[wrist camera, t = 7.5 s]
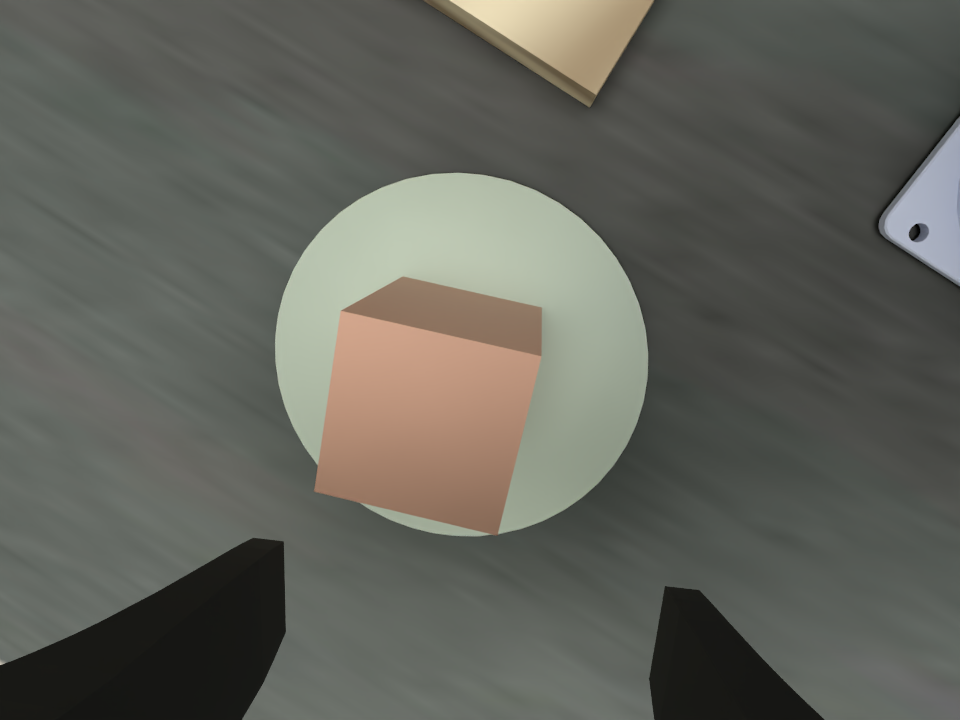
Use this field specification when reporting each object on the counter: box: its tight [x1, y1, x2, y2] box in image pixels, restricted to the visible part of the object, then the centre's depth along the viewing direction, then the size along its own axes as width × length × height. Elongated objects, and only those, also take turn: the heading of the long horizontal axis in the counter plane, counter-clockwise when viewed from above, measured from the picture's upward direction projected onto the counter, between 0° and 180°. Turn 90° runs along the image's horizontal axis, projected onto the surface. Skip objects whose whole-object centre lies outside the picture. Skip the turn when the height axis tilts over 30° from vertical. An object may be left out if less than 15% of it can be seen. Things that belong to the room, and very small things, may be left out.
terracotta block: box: [314, 276, 542, 536], centre depth 16 cm, size 4×4×6 cm
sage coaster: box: [275, 173, 648, 536], centre depth 20 cm, size 12×12×1 cm
